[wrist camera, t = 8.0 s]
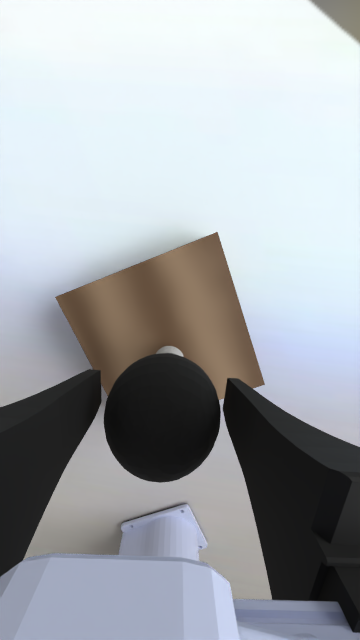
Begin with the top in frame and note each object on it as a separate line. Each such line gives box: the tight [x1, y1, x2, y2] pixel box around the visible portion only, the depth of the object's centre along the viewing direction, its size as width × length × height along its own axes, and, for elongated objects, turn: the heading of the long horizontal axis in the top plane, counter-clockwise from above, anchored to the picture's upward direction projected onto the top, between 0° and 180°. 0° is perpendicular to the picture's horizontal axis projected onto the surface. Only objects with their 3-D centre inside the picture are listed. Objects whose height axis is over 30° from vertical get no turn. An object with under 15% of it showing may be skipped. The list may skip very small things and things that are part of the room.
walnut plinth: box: [55, 232, 265, 400], centre depth 18 cm, size 14×14×3 cm
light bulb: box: [104, 346, 221, 482], centre depth 12 cm, size 6×6×10 cm
